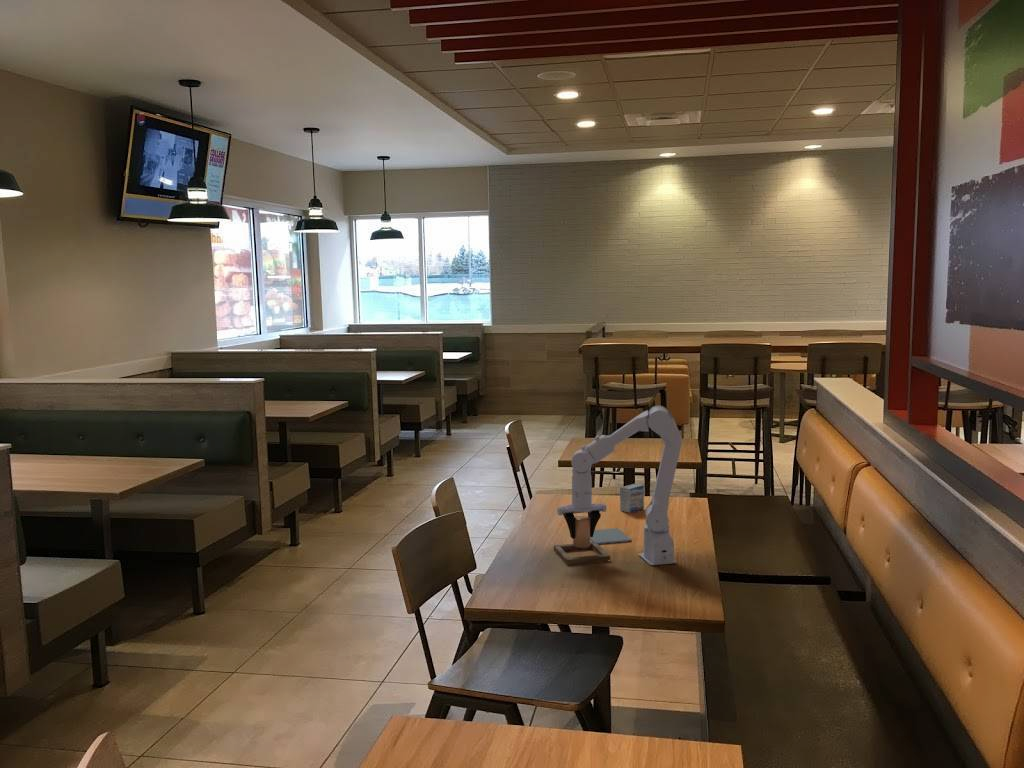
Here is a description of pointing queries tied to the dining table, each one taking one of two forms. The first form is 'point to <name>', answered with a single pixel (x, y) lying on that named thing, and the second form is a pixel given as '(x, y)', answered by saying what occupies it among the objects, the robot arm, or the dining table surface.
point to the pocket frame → (577, 560)
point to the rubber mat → (609, 536)
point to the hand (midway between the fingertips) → (581, 536)
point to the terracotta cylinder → (582, 532)
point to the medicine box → (631, 498)
